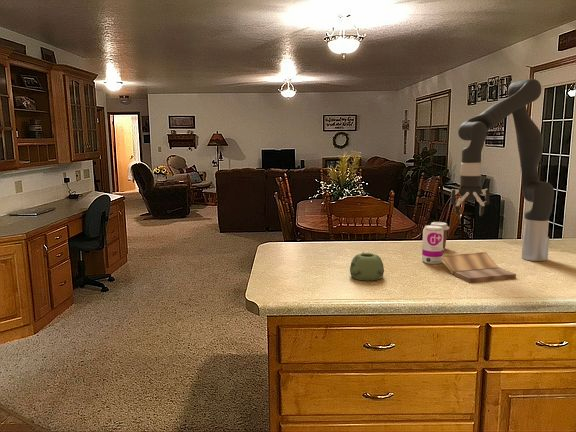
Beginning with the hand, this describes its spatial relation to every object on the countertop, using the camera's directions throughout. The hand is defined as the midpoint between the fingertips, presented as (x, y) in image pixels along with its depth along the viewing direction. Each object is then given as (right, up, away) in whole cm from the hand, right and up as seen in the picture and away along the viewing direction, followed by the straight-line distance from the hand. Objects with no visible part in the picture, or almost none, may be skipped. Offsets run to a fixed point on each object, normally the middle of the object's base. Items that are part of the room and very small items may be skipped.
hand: (469, 215), depth 189 cm
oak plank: (0, -19, 0) cm, 19 cm away
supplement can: (-11, -20, +13) cm, 26 cm away
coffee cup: (-1, -16, +37) cm, 40 cm away
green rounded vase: (-42, -23, -6) cm, 48 cm away
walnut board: (+3, -23, -9) cm, 25 cm away
